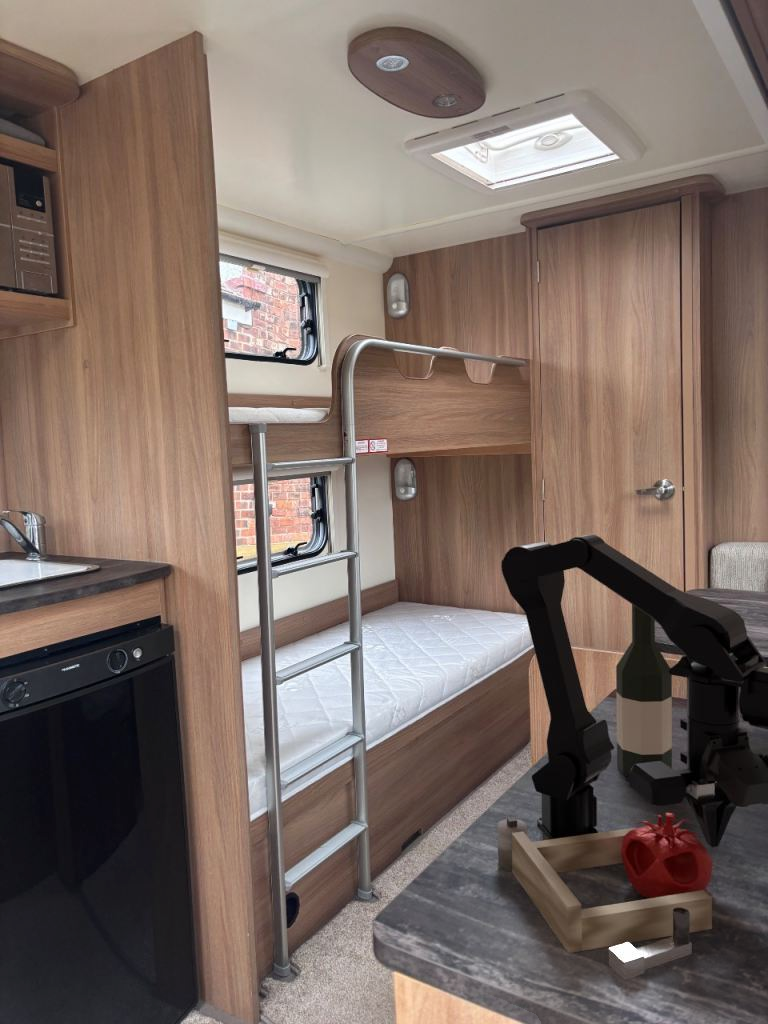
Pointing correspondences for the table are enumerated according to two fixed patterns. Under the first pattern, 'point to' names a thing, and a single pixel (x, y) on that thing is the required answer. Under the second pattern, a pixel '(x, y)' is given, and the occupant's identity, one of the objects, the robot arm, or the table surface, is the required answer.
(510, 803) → the table surface
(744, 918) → the table surface
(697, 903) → the frame
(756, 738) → the table surface
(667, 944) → the crank handle
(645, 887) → the pomegranate
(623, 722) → the wine bottle
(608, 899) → the table surface
